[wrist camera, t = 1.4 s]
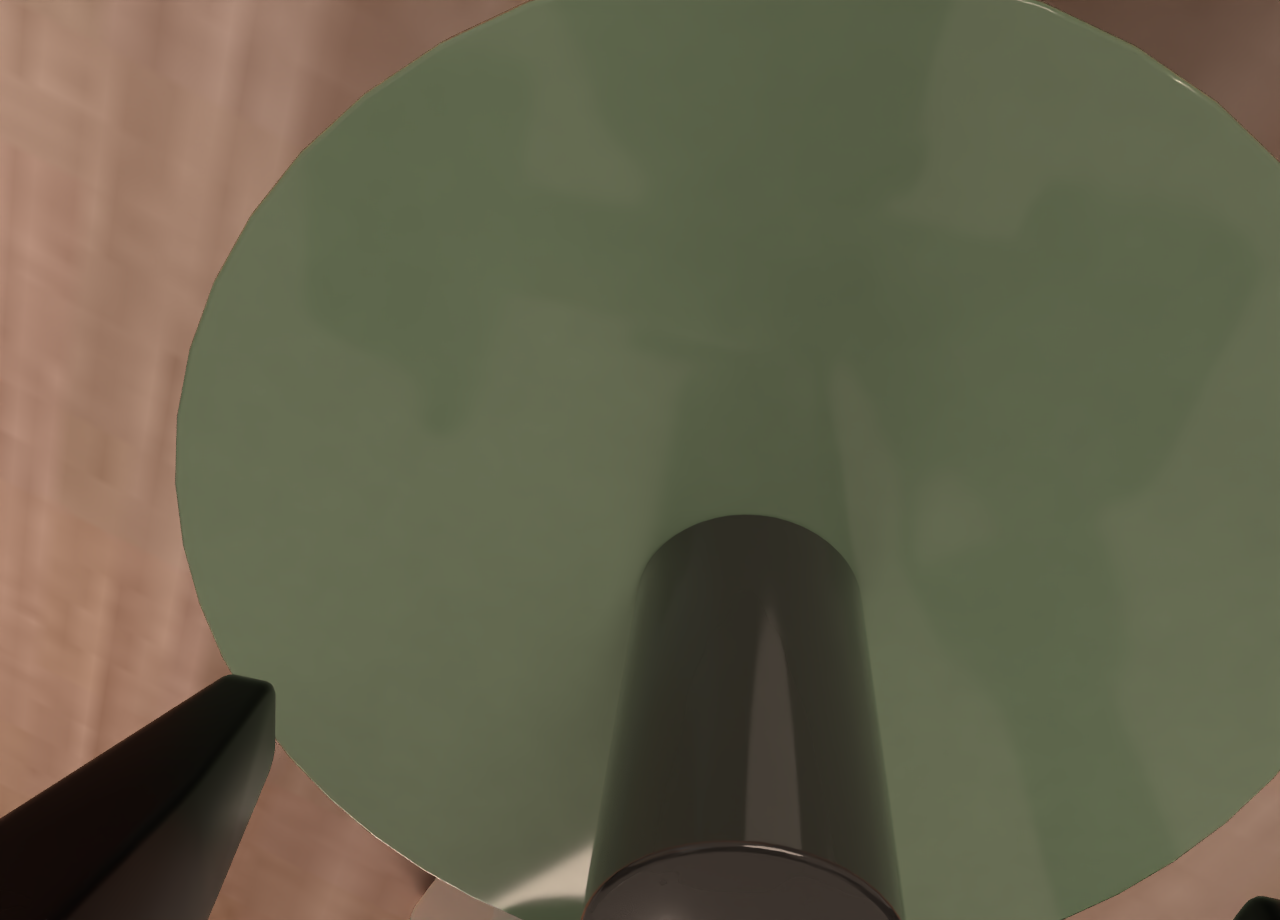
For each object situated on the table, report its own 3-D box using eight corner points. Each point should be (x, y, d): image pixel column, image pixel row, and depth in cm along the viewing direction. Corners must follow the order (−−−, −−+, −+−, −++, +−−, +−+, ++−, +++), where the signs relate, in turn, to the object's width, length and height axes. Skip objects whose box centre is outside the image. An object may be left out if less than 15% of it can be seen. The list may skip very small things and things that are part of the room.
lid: (1536, -114, 9) (2494, -86, 4) (1216, 926, 15) (1425, 1409, 11) (57, 0, 10) (-551, 113, 6) (345, 892, 17) (181, 1295, 12)
